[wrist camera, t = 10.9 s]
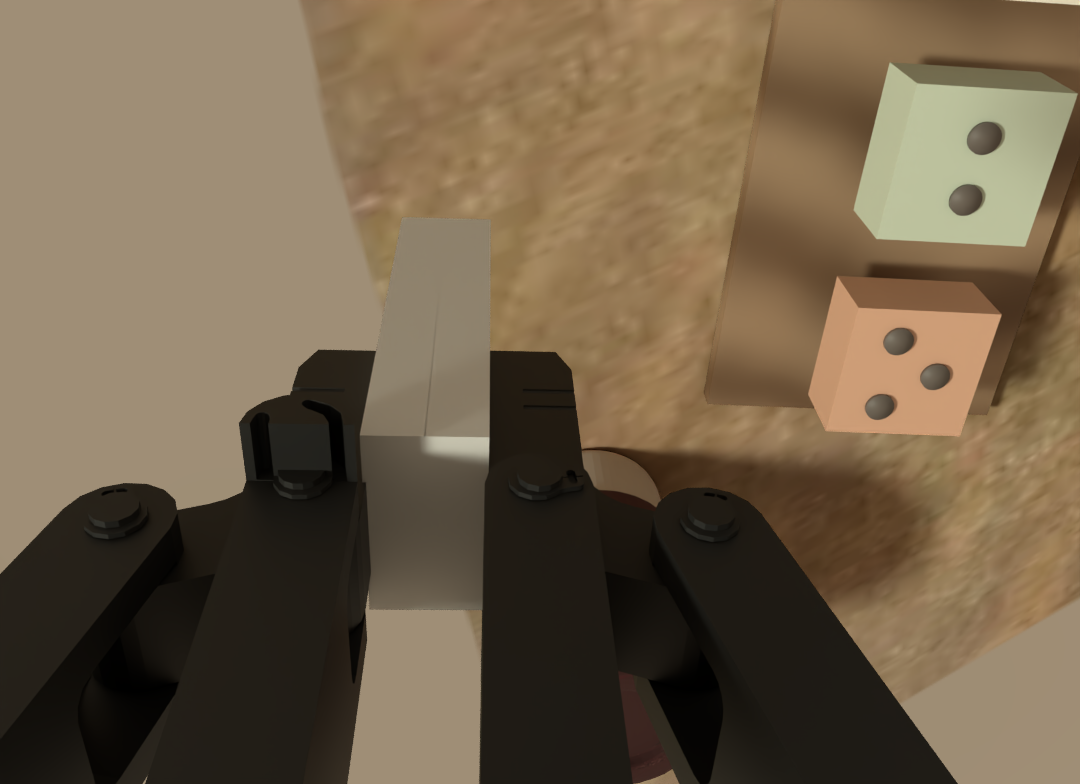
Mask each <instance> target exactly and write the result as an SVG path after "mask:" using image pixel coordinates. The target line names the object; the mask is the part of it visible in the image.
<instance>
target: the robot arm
mask: <svg viewBox="0 0 1080 784" xmlns="http://www.w3.org/2000/svg"><path fill="white" fill-rule="evenodd" d="M490 232H491V220H487V219H451V218H415V217H402V221H401V226H400V231H399V237H398V242H397V247H396V252H395V257H394V262H393V267H392V272H391V277H390V283H389V288H388V293H387V298H386V303H385V308H384V313H383V318H382V324H381V329H380V334H379V339H378V344H377V349H376V351H354V350H353V351H352V350H318V351H317V352H315V353H314V354H313V355H312V356H311V357H310V358H309V359H308V360H307V361H305V362H304V363H303V364H302V365H301V366H300V367H299V368H298V372H297V375H296V378H295V381H294V384H293V388H292V390H293V391H291V394H290V395H286V396H281V397H278V398H274V399H271V400H268V401H264V402H262V403H261V404H259V405H257V406H256V407H254V408H252V409H251V410H249V411H248V412H247V413H246V414H245V416H244V417H243V418H242V420H241V421H240V422H239V427H240V435H241V443H242V450H243V458H244V466H245V473H246V483H245V487H244V489H243V492H241V493H239V494H237V495H235V496H233V497H230V498H228V499H226V500H222V501H218V502H215V503H211V504H207V505H202V506H196V507H191V508H186V509H181V510H177V508H176V502H175V499H174V498H173V497H171V496H170V495H169V494H168V493H167V492H166V491H165V490H163V489H160V488H157V487H154V486H151V485H148V484H133V483H123V484H118V485H112V486H107V487H102V488H99V489H97V490H94V491H92V492H90V493H87V494H85V495H82V496H80V497H79V498H77V499H76V500H75V501H73V502H72V503H71V504H69V505H68V506H67V507H65V508H64V509H63V510H62V511H61V512H60V513H59V514H58V515H57V516H56V517H55V518H54V519H53V520H52V521H51V522H50V523H49V524H48V525H47V526H46V527H45V528H44V529H43V530H42V531H41V533H40V534H39V535H38V536H37V537H36V538H35V539H34V540H33V541H32V542H31V543H30V544H29V545H28V546H27V547H26V548H25V549H24V550H23V551H22V552H21V553H20V554H19V555H18V556H17V557H16V558H15V559H14V561H12V562H11V564H9V566H8V567H7V568H6V569H5V570H4V571H3V572H2V573H1V574H0V784H143V782H144V780H145V779H146V777H147V776H148V777H147V780H146V783H145V784H347V781H348V774H349V767H350V760H351V752H352V745H353V738H354V730H355V723H356V715H357V709H358V701H359V694H360V687H361V680H362V673H363V665H364V658H365V651H366V644H367V631H366V615H365V608H366V602H367V595H368V590H369V607H370V609H386V610H388V609H391V610H398V609H399V610H482V650H481V714H480V774H479V775H480V776H479V784H633V780H632V772H631V765H630V757H629V750H628V742H627V735H626V727H625V720H624V712H623V704H622V697H621V689H620V682H619V674H618V671H620V672H624V673H627V674H631V675H633V678H634V683H635V688H636V691H637V693H638V695H639V697H640V699H641V702H642V704H643V706H644V708H645V710H646V712H647V715H648V717H649V719H650V721H651V723H652V725H653V728H654V730H655V732H656V734H657V736H658V738H659V741H660V743H661V745H662V747H663V749H664V751H665V753H666V756H667V758H668V760H669V762H670V764H671V766H672V769H673V771H674V773H675V775H676V777H677V779H678V782H679V784H958V783H957V782H956V781H955V779H954V778H953V777H952V775H951V774H950V772H949V771H948V770H947V769H946V767H945V766H944V764H943V763H942V761H941V760H940V759H939V758H938V756H937V755H936V753H935V752H934V750H933V749H932V748H931V746H930V745H929V744H928V742H927V741H926V740H925V738H924V737H923V736H922V734H921V733H920V731H919V730H918V729H917V727H916V726H915V724H914V723H913V722H912V720H911V719H910V718H909V716H908V715H907V714H906V712H905V711H904V709H903V708H902V707H901V705H900V704H899V702H898V701H897V700H896V698H895V697H894V696H893V694H892V693H891V691H890V690H889V689H888V687H887V686H886V685H885V683H884V682H883V680H882V679H881V678H880V676H879V675H878V674H877V672H876V671H875V669H874V668H873V667H872V665H871V664H870V663H869V661H868V660H867V658H866V657H865V656H864V654H863V653H862V652H861V650H860V649H859V647H858V646H857V645H856V643H855V642H854V641H853V639H852V638H851V636H850V635H849V634H848V632H847V631H846V630H845V628H844V627H843V625H842V624H841V623H840V621H839V620H838V619H837V617H836V616H835V614H834V613H833V612H832V610H831V609H830V608H829V606H828V605H827V603H826V602H825V601H824V599H823V598H822V597H821V595H820V594H819V593H818V591H817V590H816V588H815V587H814V586H813V584H812V583H811V582H810V580H809V579H808V577H807V576H806V575H805V573H804V572H803V571H802V569H801V568H800V566H799V565H798V564H797V562H796V561H795V560H794V558H793V557H792V555H791V554H790V553H789V551H788V550H787V549H786V547H785V546H784V544H783V543H782V542H781V540H780V539H779V538H778V536H777V535H776V533H775V532H774V531H773V529H772V528H771V527H770V525H769V524H768V522H767V521H766V520H765V518H764V517H763V516H762V514H761V513H760V512H759V511H758V510H757V509H756V508H754V507H753V506H752V505H751V504H750V503H749V502H748V501H746V500H744V499H742V498H740V497H738V496H736V495H734V494H732V493H730V492H726V491H721V490H717V489H712V488H686V489H683V490H680V491H676V492H673V493H670V494H669V495H667V496H666V497H665V498H664V499H662V500H661V501H660V502H658V505H657V507H656V510H655V511H652V510H647V509H643V508H639V507H634V506H631V505H628V504H625V503H621V502H618V501H616V500H614V499H612V498H610V497H608V496H606V495H605V494H603V493H602V492H601V491H599V490H598V489H597V488H596V487H594V485H593V482H592V480H591V478H590V476H589V474H588V472H587V471H586V470H585V469H584V465H583V458H582V450H581V442H580V434H579V426H578V418H577V410H576V402H575V395H574V387H573V379H572V371H571V369H570V368H569V367H568V366H567V365H566V363H565V362H564V361H563V360H562V359H561V358H560V357H559V356H558V355H557V353H556V352H524V351H490Z"/></svg>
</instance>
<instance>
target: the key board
mask: <svg viewBox="0 0 1080 784" xmlns="http://www.w3.org/2000/svg"><path fill="white" fill-rule="evenodd" d="M890 62H894V63H909V64H925V65H940V66H955V67H971V68H986V69H1002V70H1017V71H1033V72H1041V73H1043V74H1045V75H1047V76H1048V77H1050V78H1052V79H1053V80H1055V81H1057V82H1059V83H1060V84H1062V85H1064V86H1066V87H1067V88H1069V89H1071V90H1072V91H1074V92H1076V93H1078V95H1077V98H1076V101H1075V104H1074V107H1073V110H1072V113H1071V116H1070V118H1069V121H1068V124H1067V127H1066V130H1065V133H1064V136H1063V139H1062V142H1061V144H1060V147H1059V150H1058V153H1057V156H1056V159H1055V162H1054V165H1053V168H1052V171H1051V173H1050V176H1049V179H1048V182H1047V185H1046V188H1045V191H1044V194H1043V197H1042V199H1041V202H1040V205H1039V208H1038V211H1037V214H1036V217H1035V220H1034V223H1033V226H1032V228H1031V231H1030V234H1029V237H1028V240H1027V243H1026V246H1025V247H1022V246H1003V245H983V244H964V243H945V242H926V241H906V240H887V239H876V238H875V236H874V235H873V234H872V233H871V231H870V230H869V229H868V228H867V226H866V225H865V224H864V223H863V221H862V220H861V219H860V218H859V216H858V215H857V214H856V213H855V211H854V205H855V201H856V197H857V193H858V189H859V185H860V181H861V177H862V173H863V169H864V165H865V161H866V157H867V153H868V148H869V144H870V140H871V136H872V132H873V128H874V124H875V120H876V116H877V112H878V108H879V104H880V100H881V96H882V92H883V87H884V83H885V79H886V75H887V71H888V67H889V63H890ZM1079 157H1080V5H1071V4H1056V3H1042V2H1028V1H1013V0H776V2H775V7H774V13H773V18H772V23H771V29H770V34H769V40H768V45H767V51H766V56H765V62H764V67H763V73H762V78H761V84H760V89H759V95H758V100H757V105H756V111H755V116H754V122H753V127H752V133H751V138H750V144H749V149H748V155H747V160H746V166H745V171H744V177H743V182H742V187H741V193H740V198H739V204H738V209H737V215H736V220H735V226H734V231H733V237H732V242H731V248H730V253H729V259H728V264H727V269H726V275H725V280H724V286H723V291H722V297H721V302H720V308H719V313H718V319H717V324H716V330H715V335H714V341H713V346H712V351H711V357H710V362H709V368H708V373H707V379H706V384H705V390H704V395H705V398H706V401H707V404H719V405H745V406H770V407H795V408H814V405H813V403H812V401H811V399H810V397H809V395H808V393H809V389H810V385H811V381H812V377H813V372H814V368H815V364H816V360H817V356H818V352H819V348H820V344H821V340H822V336H823V332H824V328H825V324H826V320H827V315H828V311H829V307H830V303H831V299H832V295H833V291H834V287H835V283H836V279H837V276H850V277H871V278H891V279H911V280H932V281H952V282H972V283H973V284H974V285H975V286H976V287H977V288H978V289H979V290H980V291H981V292H982V293H983V295H984V296H985V297H986V298H987V299H988V300H989V301H990V302H991V303H992V304H993V306H994V307H995V308H996V309H997V310H998V311H999V312H1000V313H1001V314H1002V315H1001V318H1000V321H999V324H998V327H997V330H996V333H995V336H994V339H993V341H992V344H991V347H990V350H989V353H988V356H987V359H986V362H985V365H984V367H983V370H982V373H981V376H980V379H979V382H978V385H977V388H976V391H975V393H974V396H973V399H972V402H971V405H970V408H969V411H968V414H972V415H987V414H988V411H989V408H990V406H991V403H992V400H993V397H994V394H995V392H996V389H997V386H998V383H999V380H1000V378H1001V375H1002V372H1003V369H1004V366H1005V364H1006V361H1007V358H1008V355H1009V352H1010V350H1011V347H1012V344H1013V341H1014V338H1015V336H1016V333H1017V330H1018V327H1019V325H1020V322H1021V319H1022V316H1023V313H1024V311H1025V308H1026V305H1027V302H1028V299H1029V297H1030V294H1031V291H1032V288H1033V285H1034V283H1035V280H1036V277H1037V274H1038V271H1039V269H1040V266H1041V263H1042V260H1043V257H1044V255H1045V252H1046V249H1047V246H1048V243H1049V241H1050V238H1051V235H1052V232H1053V229H1054V227H1055V224H1056V221H1057V218H1058V216H1059V213H1060V210H1061V207H1062V204H1063V202H1064V199H1065V196H1066V193H1067V190H1068V188H1069V185H1070V182H1071V179H1072V176H1073V174H1074V171H1075V168H1076V165H1077V162H1078V160H1079Z"/></svg>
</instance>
